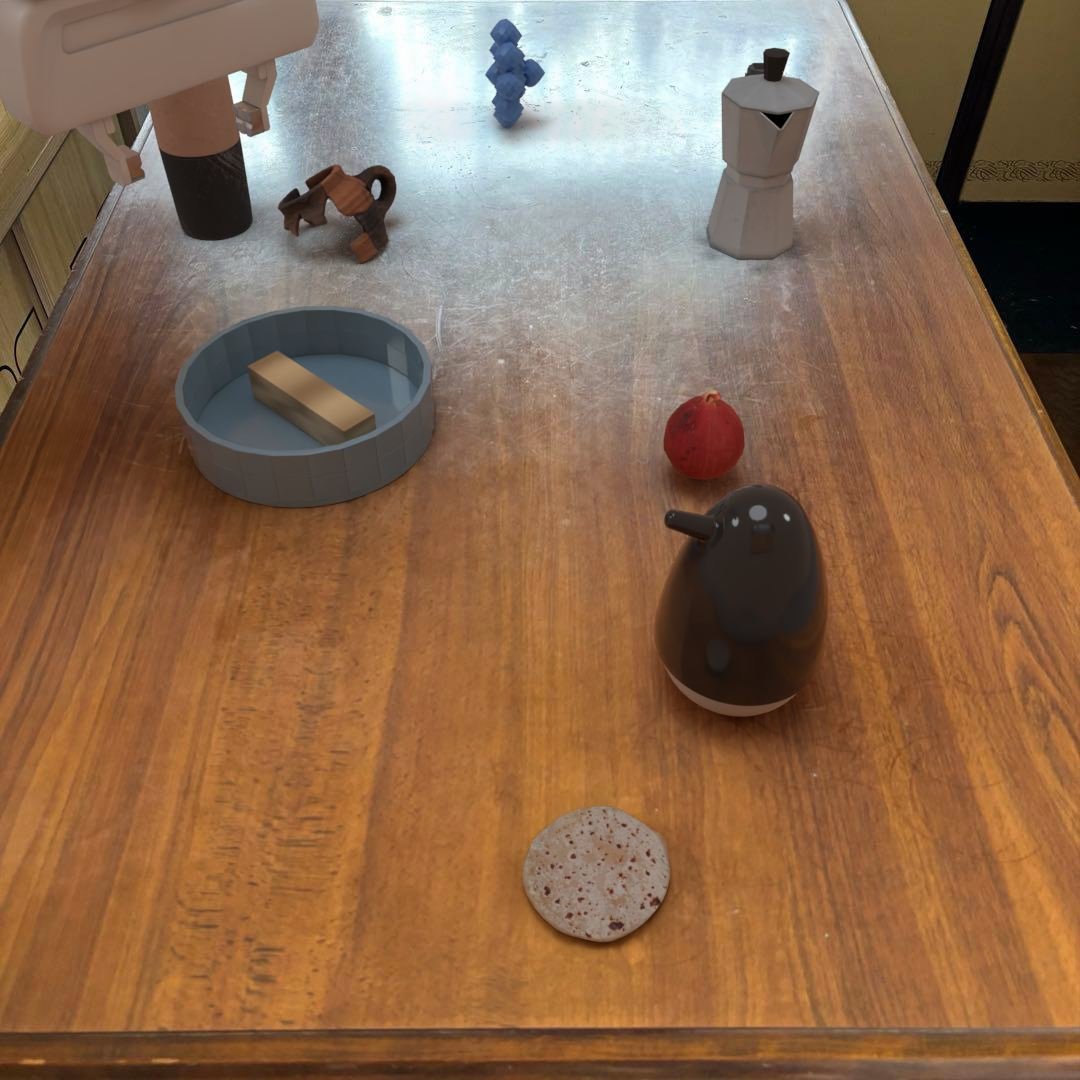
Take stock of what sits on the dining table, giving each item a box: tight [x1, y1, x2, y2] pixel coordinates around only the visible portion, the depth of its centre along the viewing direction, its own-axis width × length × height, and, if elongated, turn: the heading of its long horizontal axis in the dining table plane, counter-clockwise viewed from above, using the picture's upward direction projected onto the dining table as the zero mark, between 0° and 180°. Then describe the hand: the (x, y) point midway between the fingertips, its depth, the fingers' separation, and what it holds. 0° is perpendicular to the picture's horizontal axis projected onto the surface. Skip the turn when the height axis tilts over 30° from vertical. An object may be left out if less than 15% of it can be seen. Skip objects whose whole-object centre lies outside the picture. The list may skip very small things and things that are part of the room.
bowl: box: [174, 305, 436, 509], centre depth 86 cm, size 19×19×5 cm
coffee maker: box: [705, 47, 820, 260], centre depth 103 cm, size 15×9×18 cm, turn 0°
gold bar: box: [247, 351, 376, 446], centre depth 86 cm, size 12×3×3 cm, turn 47°
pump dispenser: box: [653, 483, 830, 717], centre depth 64 cm, size 10×10×15 cm
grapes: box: [484, 18, 546, 128], centre depth 123 cm, size 12×7×12 cm, turn 5°
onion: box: [662, 388, 746, 481], centre depth 80 cm, size 6×6×8 cm
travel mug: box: [147, 75, 254, 241], centre depth 104 cm, size 8×8×20 cm
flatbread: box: [521, 805, 671, 943], centre depth 59 cm, size 8×8×1 cm
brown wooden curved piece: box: [277, 164, 398, 264], centre depth 107 cm, size 12×10×8 cm
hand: (193, 155), depth 70 cm, fingers open, 8 cm apart
